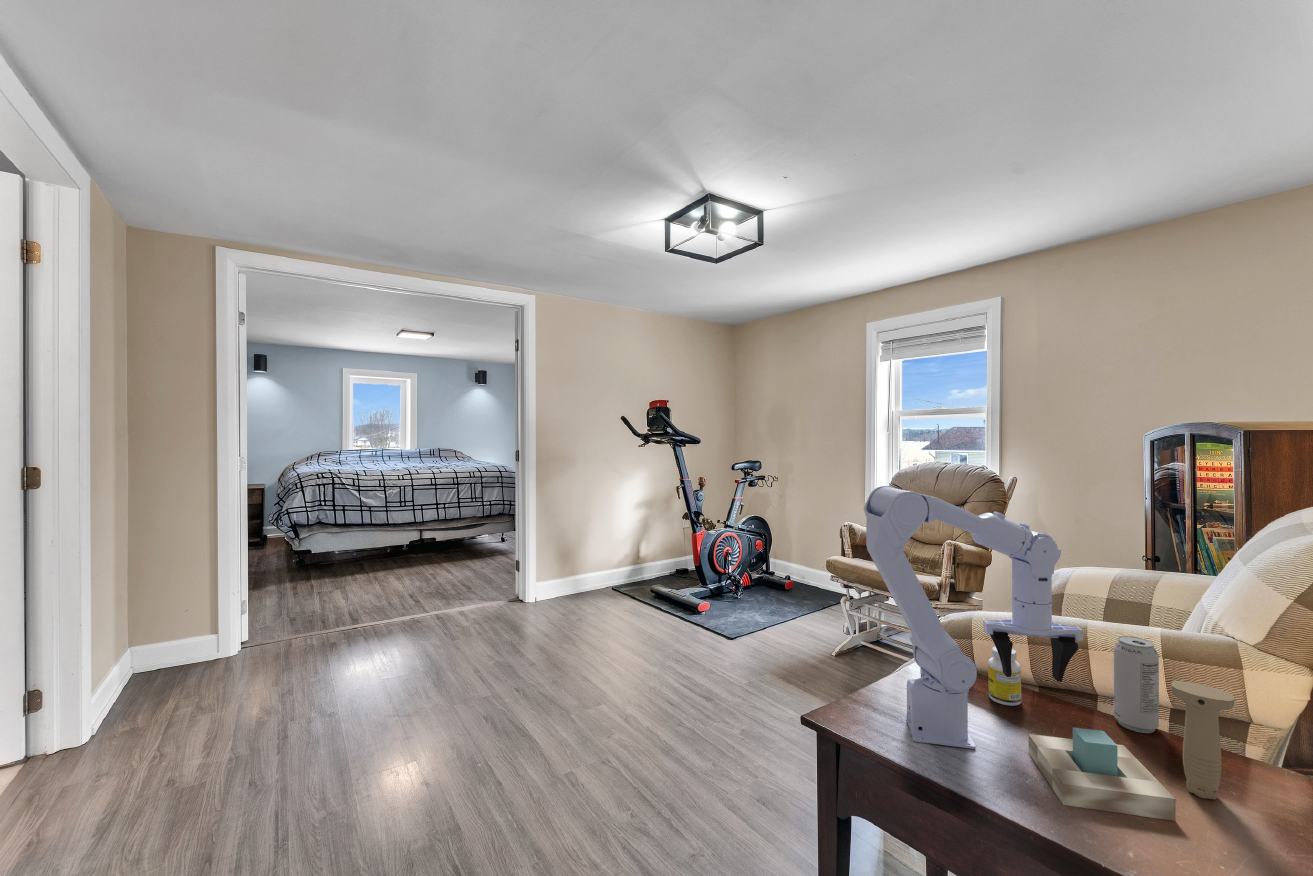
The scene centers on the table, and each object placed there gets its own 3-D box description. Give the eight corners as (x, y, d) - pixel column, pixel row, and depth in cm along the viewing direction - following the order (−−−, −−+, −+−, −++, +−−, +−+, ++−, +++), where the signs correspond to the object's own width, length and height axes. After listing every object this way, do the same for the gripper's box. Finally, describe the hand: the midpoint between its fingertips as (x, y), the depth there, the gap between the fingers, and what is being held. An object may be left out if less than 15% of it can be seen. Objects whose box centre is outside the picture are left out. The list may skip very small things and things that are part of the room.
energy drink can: (1128, 714, 102) (1128, 633, 101) (1167, 731, 96) (1167, 645, 96) (1105, 720, 100) (1105, 637, 100) (1143, 737, 94) (1143, 650, 94)
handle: (1233, 813, 76) (1234, 704, 76) (1170, 791, 81) (1170, 689, 80) (1234, 796, 79) (1234, 692, 79) (1172, 776, 84) (1172, 678, 84)
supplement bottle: (989, 690, 112) (989, 642, 111) (1022, 697, 108) (1021, 648, 108) (987, 701, 107) (986, 651, 107) (1020, 709, 104) (1020, 657, 104)
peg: (1085, 789, 81) (1085, 741, 81) (1072, 772, 85) (1072, 727, 85) (1117, 793, 80) (1117, 745, 80) (1103, 776, 84) (1103, 731, 84)
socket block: (1063, 804, 78) (1063, 783, 78) (1028, 752, 91) (1028, 734, 91) (1175, 821, 75) (1175, 799, 75) (1123, 764, 87) (1123, 745, 87)
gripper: (1069, 595, 98) (1069, 671, 99) (978, 590, 102) (978, 663, 103) (1088, 608, 92) (1089, 689, 92) (990, 602, 96) (990, 680, 96)
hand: (1031, 677), depth 97 cm, fingers open, 7 cm apart
